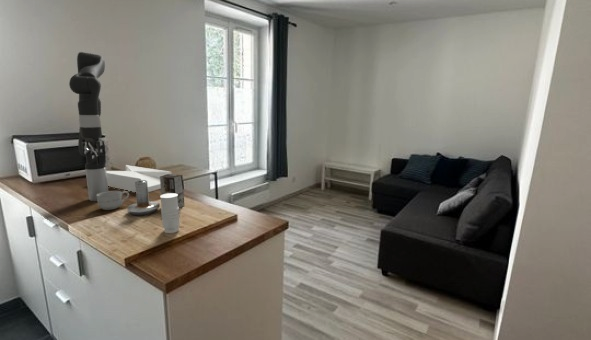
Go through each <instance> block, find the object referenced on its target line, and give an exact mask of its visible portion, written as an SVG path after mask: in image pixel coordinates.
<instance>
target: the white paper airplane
mask: <svg viewBox="0 0 591 340" xmlns="http://www.w3.org/2000/svg"><path fill="white" fill-rule="evenodd" d="M172 172H173V171H167V170H164V169H163V170H161V169H156V168H148V167H141V166H134V165H128V164H125V170H106V174H107V182H108V186H111V187H115V188H120V189H124V190H123V191H125V190H128V191H127V192H130V191H132V192H131V193H135V192H136V188H135V182H136V181H139V180H147V185H148V193H150V192H154V191H158V190H161V184H160V176H163V175H166V174H173V173H172ZM115 188H114V189H115ZM120 189H119V190H120Z"/></svg>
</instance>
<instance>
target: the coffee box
mask: <svg viewBox="0 0 591 340" xmlns="http://www.w3.org/2000/svg"><path fill="white" fill-rule="evenodd" d="M183 179H184V178H183V174H175V173H172V174H166V175H163V176H160V184H161V189H160V192H161V194H160V196H161V195H163V194H168V193H176V194H178V196H177V200H178V207H180V208H182V207H184V206H185V195H184V194H185V192H184V180H183Z"/></svg>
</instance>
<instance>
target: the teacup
mask: <svg viewBox="0 0 591 340" xmlns="http://www.w3.org/2000/svg"><path fill="white" fill-rule="evenodd" d="M124 194H126V196H125V197H124V198H123V195H124ZM96 196H97V201H96V202H97V204H98V207H99V208H100V209H102V210H104V211H110V210H111V211H112V210H115V209H118V208H119V207H120V206H121V205H122V204H123V203H124V202H125V201H126V200H127V199H128V198H129V196H130V193H129V191H125V190H108V192H103V193H99V194H97V195H96Z"/></svg>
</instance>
